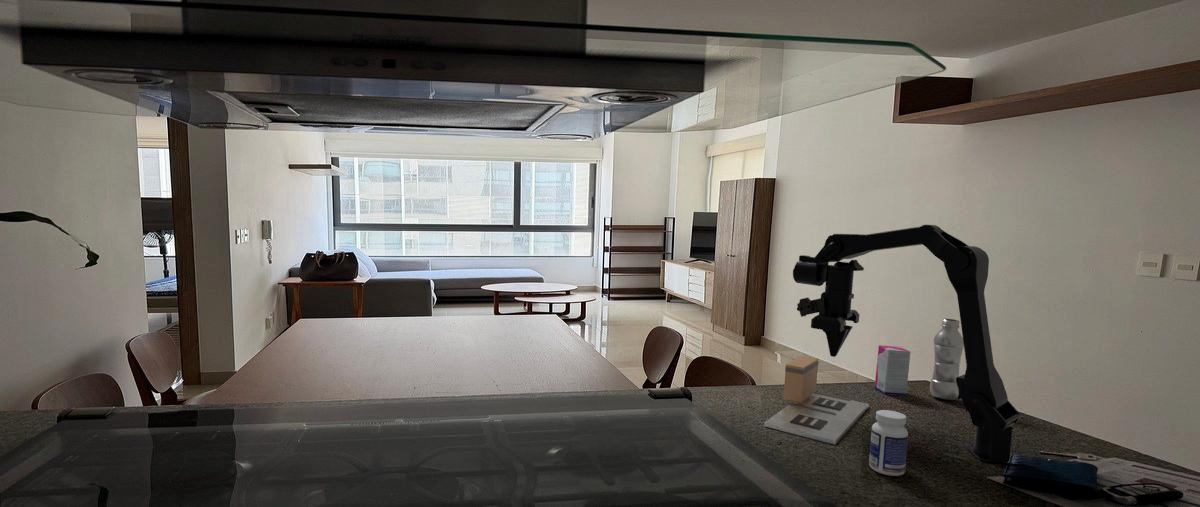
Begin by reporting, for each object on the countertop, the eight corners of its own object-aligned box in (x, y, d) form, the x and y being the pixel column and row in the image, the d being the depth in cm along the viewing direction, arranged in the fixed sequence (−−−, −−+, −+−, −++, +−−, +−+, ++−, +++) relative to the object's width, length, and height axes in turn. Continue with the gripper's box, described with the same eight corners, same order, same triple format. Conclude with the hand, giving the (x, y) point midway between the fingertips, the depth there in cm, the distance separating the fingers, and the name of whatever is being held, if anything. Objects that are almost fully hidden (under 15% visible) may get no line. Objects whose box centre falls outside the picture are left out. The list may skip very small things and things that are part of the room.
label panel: (868, 407, 136) (868, 402, 136) (834, 444, 112) (835, 439, 112) (807, 393, 144) (807, 389, 144) (764, 426, 120) (764, 421, 120)
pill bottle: (909, 470, 102) (914, 414, 101) (899, 480, 98) (904, 422, 97) (874, 459, 106) (879, 406, 105) (863, 468, 102) (868, 413, 101)
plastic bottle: (965, 403, 143) (972, 323, 142) (937, 402, 143) (944, 321, 142) (949, 395, 149) (957, 318, 148) (923, 394, 149) (930, 316, 148)
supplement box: (907, 395, 147) (911, 351, 146) (883, 394, 147) (887, 349, 147) (896, 388, 153) (899, 345, 152) (873, 387, 153) (877, 344, 152)
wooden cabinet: (816, 390, 142) (818, 358, 142) (801, 402, 132) (803, 367, 132) (799, 387, 145) (801, 355, 144) (783, 398, 135) (785, 364, 134)
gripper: (814, 282, 145) (809, 344, 146) (790, 287, 130) (784, 356, 131) (862, 287, 139) (856, 352, 140) (842, 293, 123) (836, 366, 125)
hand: (833, 356), depth 134 cm, fingers closed
